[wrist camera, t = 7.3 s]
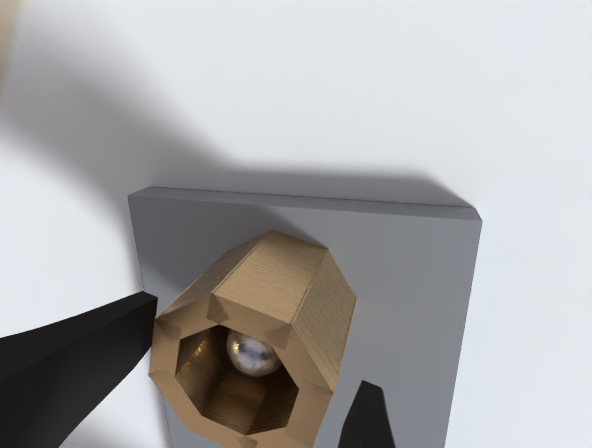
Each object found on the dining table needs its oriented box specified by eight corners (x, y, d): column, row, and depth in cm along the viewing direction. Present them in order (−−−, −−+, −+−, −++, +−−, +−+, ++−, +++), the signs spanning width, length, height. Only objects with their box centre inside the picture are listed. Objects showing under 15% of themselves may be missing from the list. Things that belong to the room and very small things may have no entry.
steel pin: (276, 326, 16) (238, 397, 13) (250, 284, 16) (203, 345, 12) (319, 311, 15) (291, 382, 12) (293, 266, 15) (256, 326, 11)
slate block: (420, 551, 21) (421, 583, 19) (195, 484, 24) (182, 508, 23) (475, 207, 14) (482, 221, 12) (149, 186, 17) (127, 195, 16)
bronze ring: (264, 366, 17) (213, 466, 13) (198, 264, 16) (118, 333, 12) (376, 331, 15) (362, 438, 10) (307, 211, 14) (259, 271, 9)
